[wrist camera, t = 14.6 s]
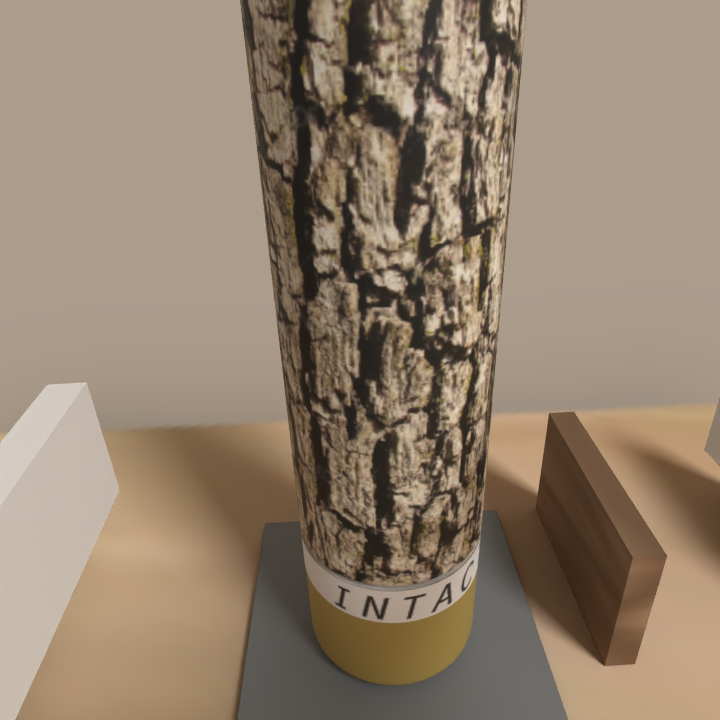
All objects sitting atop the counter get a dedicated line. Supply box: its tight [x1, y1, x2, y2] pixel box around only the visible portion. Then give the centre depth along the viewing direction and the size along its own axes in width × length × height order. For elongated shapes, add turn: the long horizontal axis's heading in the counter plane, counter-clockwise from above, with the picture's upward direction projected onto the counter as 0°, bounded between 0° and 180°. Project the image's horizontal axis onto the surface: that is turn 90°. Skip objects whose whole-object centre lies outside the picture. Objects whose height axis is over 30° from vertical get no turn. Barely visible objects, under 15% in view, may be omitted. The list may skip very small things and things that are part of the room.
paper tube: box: [240, 0, 527, 686], centre depth 19 cm, size 7×7×25 cm
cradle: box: [536, 412, 667, 666], centre depth 26 cm, size 11×9×6 cm
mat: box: [237, 511, 568, 720], centre depth 25 cm, size 12×12×1 cm
